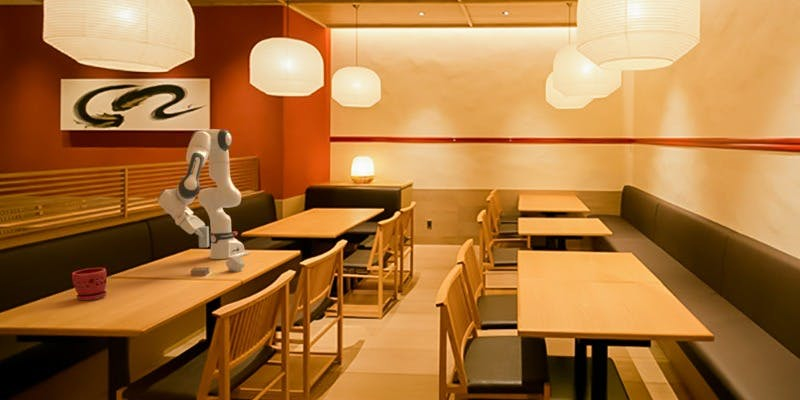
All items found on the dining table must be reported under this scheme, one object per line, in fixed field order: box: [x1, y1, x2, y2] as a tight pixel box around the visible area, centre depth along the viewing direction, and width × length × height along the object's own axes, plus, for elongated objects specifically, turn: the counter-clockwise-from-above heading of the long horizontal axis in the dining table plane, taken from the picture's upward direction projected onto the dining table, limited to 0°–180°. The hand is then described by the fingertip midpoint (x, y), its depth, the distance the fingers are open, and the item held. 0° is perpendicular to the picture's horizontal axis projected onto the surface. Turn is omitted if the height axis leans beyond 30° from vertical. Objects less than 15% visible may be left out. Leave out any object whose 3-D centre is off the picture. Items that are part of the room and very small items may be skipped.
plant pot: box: [71, 267, 108, 301], centre depth 280 cm, size 13×13×12 cm
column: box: [198, 225, 210, 248], centre depth 332 cm, size 4×4×10 cm
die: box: [225, 256, 246, 273], centre depth 331 cm, size 8×9×10 cm
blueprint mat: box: [188, 272, 212, 278], centre depth 324 cm, size 14×12×1 cm
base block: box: [190, 266, 211, 276], centre depth 323 cm, size 7×7×3 cm
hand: (205, 236), depth 332 cm, fingers closed on column, 4 cm apart
